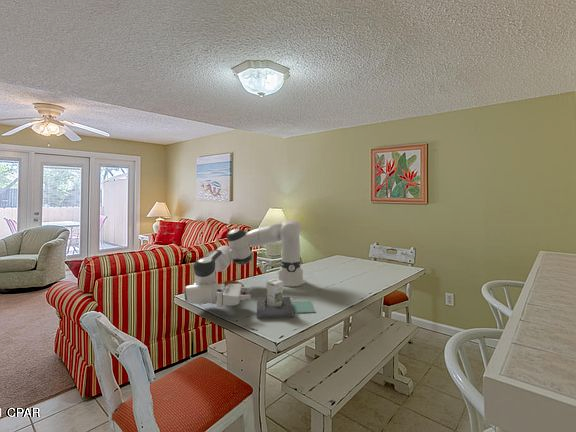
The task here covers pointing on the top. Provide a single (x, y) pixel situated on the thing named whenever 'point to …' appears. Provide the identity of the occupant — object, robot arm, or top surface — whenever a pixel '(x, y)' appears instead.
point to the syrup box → (274, 293)
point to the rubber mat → (302, 307)
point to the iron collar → (274, 309)
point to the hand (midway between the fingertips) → (250, 293)
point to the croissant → (233, 283)
